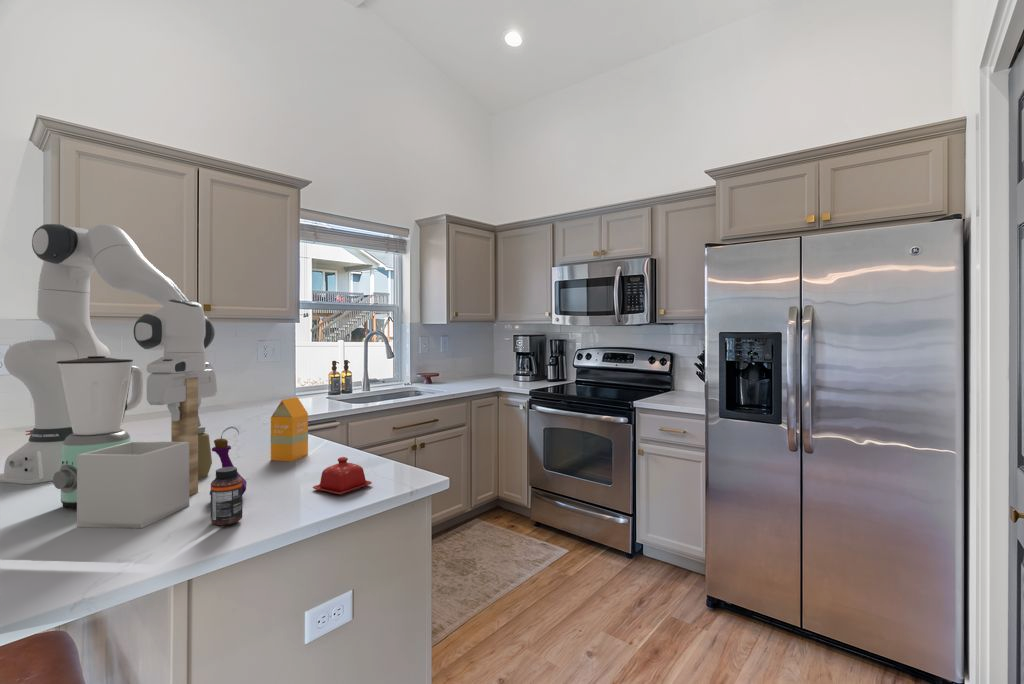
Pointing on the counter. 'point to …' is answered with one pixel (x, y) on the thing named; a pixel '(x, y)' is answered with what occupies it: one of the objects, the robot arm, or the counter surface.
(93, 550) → the counter surface
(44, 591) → the counter surface
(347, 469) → the butter dish
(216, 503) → the supplement bottle
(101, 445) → the blender
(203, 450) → the squeeze bottle
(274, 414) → the orange juice
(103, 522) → the bin
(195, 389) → the long wooden block
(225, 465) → the potion bottle
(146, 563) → the counter surface
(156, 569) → the counter surface
